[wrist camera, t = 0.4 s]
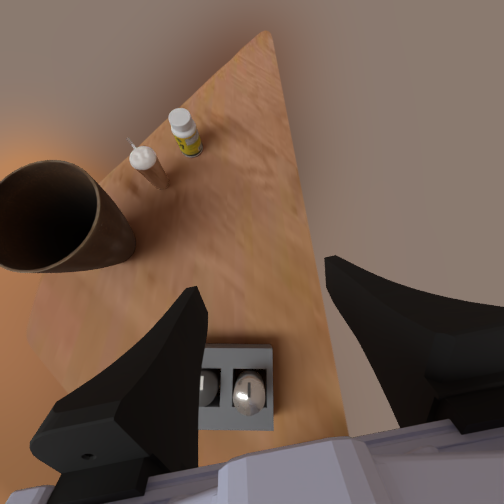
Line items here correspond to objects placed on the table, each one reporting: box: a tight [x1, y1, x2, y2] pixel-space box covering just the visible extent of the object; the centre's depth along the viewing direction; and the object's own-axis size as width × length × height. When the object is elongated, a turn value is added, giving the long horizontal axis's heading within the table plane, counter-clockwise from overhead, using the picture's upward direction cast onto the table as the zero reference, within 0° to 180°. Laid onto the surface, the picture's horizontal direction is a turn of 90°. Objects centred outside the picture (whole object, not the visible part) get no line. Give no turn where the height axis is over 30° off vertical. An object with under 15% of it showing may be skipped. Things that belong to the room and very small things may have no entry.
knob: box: [233, 370, 265, 416], centre depth 32 cm, size 4×4×4 cm
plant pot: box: [0, 160, 136, 273], centre depth 35 cm, size 15×15×16 cm
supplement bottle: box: [169, 108, 203, 157], centre depth 44 cm, size 5×5×8 cm
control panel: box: [198, 344, 274, 431], centre depth 35 cm, size 11×21×4 cm, turn 90°
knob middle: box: [199, 368, 221, 407], centre depth 34 cm, size 4×4×4 cm
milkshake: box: [127, 138, 169, 190], centre depth 41 cm, size 5×5×10 cm
